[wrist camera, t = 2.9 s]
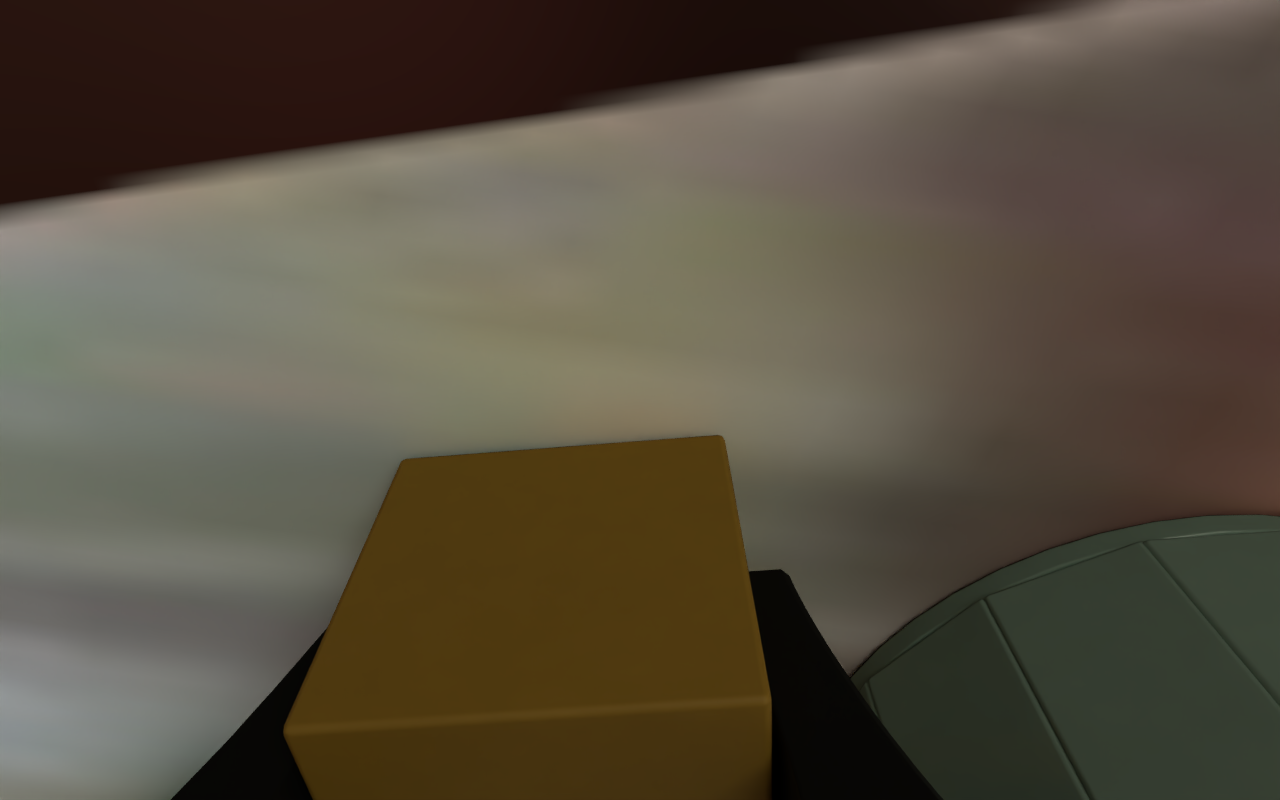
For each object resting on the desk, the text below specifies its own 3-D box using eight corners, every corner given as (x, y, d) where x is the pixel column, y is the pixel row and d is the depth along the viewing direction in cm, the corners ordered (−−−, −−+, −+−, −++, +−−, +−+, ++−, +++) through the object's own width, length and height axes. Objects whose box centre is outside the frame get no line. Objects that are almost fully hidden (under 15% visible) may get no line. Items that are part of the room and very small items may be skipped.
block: (733, 663, 13) (774, 964, 9) (462, 681, 13) (393, 983, 9) (723, 432, 11) (772, 700, 7) (400, 457, 11) (277, 731, 7)
